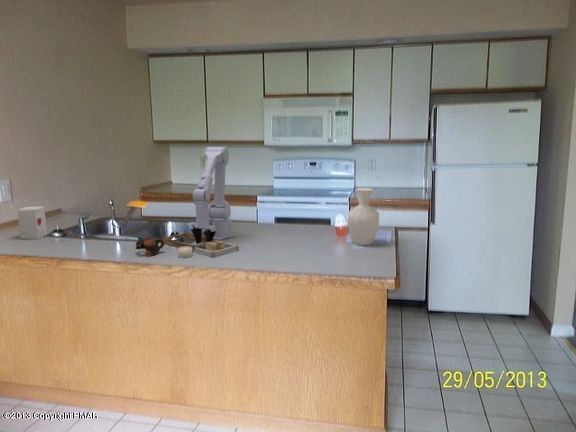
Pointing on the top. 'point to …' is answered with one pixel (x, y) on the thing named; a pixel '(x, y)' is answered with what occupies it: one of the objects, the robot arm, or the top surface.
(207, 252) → the grey corral
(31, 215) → the supplement box
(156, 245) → the pottery mug
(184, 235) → the brown u-shaped frame
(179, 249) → the cream egg-shaped dome
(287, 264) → the top surface
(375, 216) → the vase
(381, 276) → the top surface
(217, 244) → the oak block
